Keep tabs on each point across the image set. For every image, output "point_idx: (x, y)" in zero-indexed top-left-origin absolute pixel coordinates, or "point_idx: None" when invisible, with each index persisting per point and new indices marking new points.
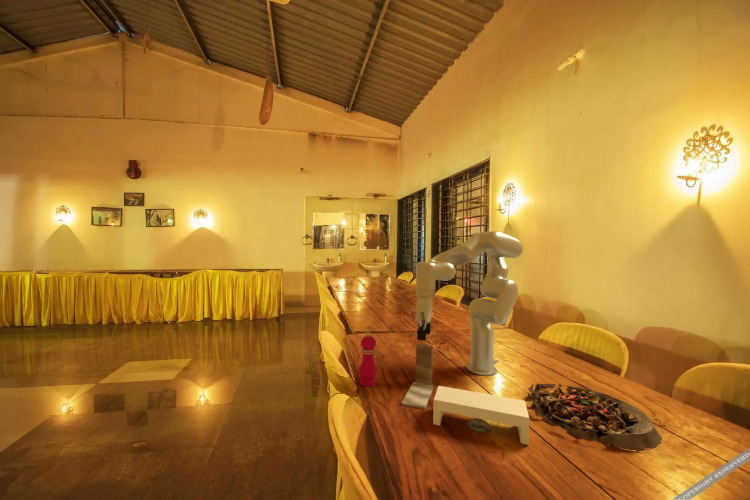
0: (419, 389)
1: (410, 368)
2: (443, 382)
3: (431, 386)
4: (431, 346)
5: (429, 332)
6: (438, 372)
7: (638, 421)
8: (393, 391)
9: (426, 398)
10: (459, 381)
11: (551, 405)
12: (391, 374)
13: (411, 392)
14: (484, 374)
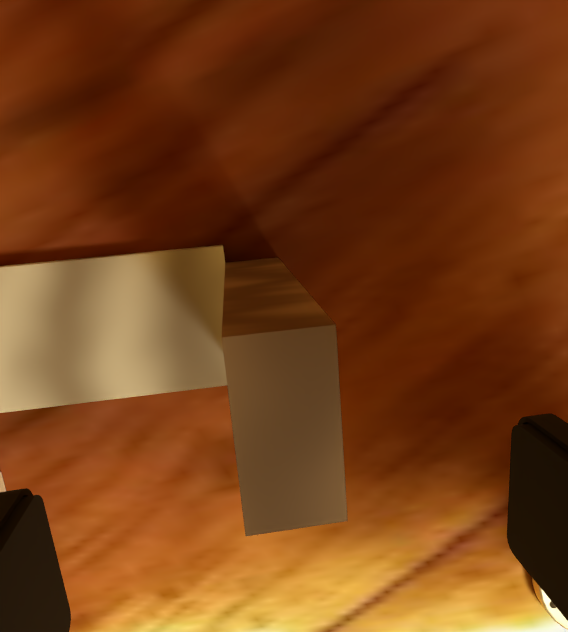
0: (132, 322)
1: (477, 136)
2: (341, 411)
3: (218, 376)
4: (321, 511)
5: (528, 565)
6: (482, 343)
7: None
8: (36, 157)
9: (38, 398)
10: (397, 485)
11: None
12: (303, 28)
13: (61, 289)
14: (534, 587)
